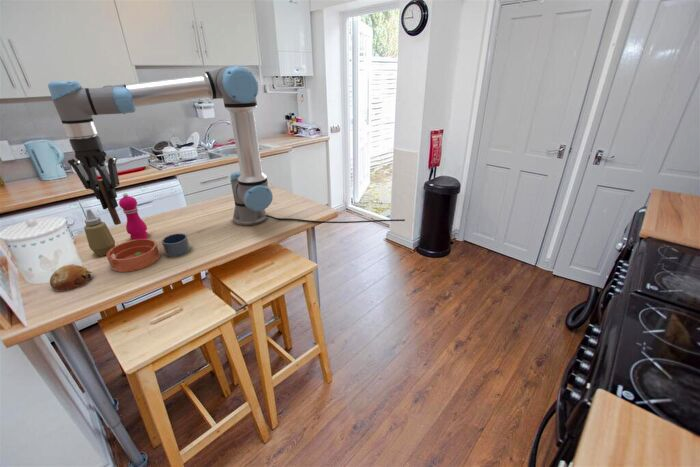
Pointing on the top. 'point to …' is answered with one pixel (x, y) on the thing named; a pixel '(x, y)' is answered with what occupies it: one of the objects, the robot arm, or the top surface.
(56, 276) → the bread roll
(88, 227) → the squeeze bottle
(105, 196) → the stick
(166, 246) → the utensil pot
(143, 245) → the bowl
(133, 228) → the pepper mill
